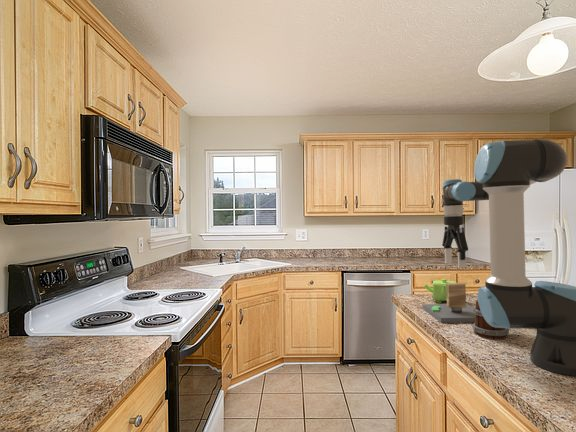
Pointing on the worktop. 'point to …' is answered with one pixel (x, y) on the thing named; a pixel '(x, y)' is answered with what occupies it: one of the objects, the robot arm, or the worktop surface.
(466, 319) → the board
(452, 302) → the peg key
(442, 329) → the worktop surface
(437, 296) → the kettle
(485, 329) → the mug
